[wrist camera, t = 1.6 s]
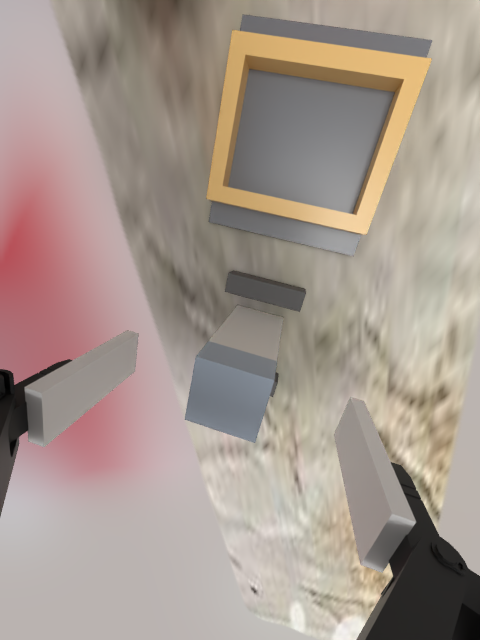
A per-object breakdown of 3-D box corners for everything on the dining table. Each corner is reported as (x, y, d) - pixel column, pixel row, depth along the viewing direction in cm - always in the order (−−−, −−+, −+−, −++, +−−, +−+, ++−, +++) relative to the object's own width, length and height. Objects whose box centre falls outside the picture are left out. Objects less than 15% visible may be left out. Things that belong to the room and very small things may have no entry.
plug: (237, 304, 22) (195, 356, 13) (283, 317, 22) (274, 380, 12) (228, 346, 24) (184, 419, 14) (271, 358, 23) (254, 443, 14)
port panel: (244, 21, 16) (237, -6, 14) (427, 47, 15) (445, 21, 13) (211, 222, 20) (202, 221, 19) (351, 255, 19) (357, 258, 17)
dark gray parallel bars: (233, 270, 21) (228, 273, 20) (305, 289, 21) (305, 293, 19) (212, 368, 25) (207, 376, 23) (274, 387, 24) (272, 396, 22)
